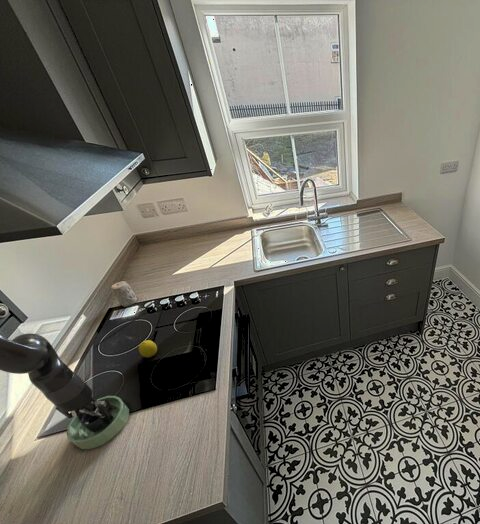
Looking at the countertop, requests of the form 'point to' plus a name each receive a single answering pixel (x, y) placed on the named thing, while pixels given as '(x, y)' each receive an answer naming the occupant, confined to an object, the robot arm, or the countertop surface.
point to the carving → (124, 293)
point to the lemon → (147, 348)
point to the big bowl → (95, 439)
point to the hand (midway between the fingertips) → (99, 421)
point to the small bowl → (93, 422)
